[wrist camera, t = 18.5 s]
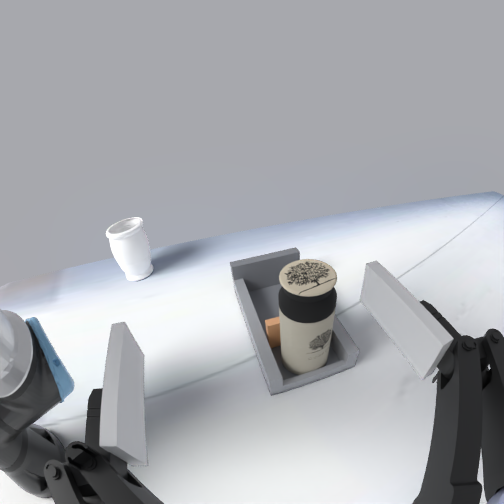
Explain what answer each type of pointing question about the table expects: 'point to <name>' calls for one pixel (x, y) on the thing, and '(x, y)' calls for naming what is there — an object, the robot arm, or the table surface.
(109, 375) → the robot arm
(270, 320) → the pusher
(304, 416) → the table surface
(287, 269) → the travel mug
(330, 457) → the table surface
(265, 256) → the grey open tray
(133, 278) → the jar
